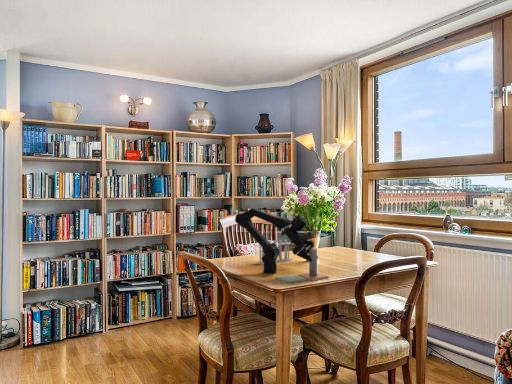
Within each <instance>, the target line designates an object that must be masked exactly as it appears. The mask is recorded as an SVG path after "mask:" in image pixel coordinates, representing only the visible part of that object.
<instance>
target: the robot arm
mask: <svg viewBox="0 0 512 384" xmlns="http://www.w3.org/2000/svg"><path fill="white" fill-rule="evenodd" d="M254 217H255V218H258V219H261V220H263V221H265V222H269V223H270V224H272V225H273V226H274V227H276V228H277V229H278V230H281V237H284V236H286V237H287V239H289V240H290V243H292V244H291V245H294V247H293V249H292V251H291V252H292V254H293V255H294V256H297V257H299V258H302V259H304V260H306V261H308V262H309V261H310V262H311V261H312V259H311V257H310V256H309V250H310V249H311V248H315V241H314V240H313V239H315V233H314V232H313V231H311V230H308V231H307V233H305V234H304V235H303V234H302V233H301V234H300V233H299V232H301V231H303V229H304V228H306V226H307V225H308V224H309V222H308V220H307V219H306V218H305V217H304V216H302V215H301V214H297V215H296V217H295V218H293V220H291V219H289V218H288V217H285V216H277V215H274V214H271V213H268V212H266V211H263V210H260V209H259V208H256V207H254V208H253V207H252V208H250V209H249V210H247V211H243V212H242V213H238V214H236V215H235V218H234V221H235V222H236V224H237V225H238V226H240V227H241V228H244V229H245V230H246V231H247V232H248V233H249V234H250V236H252V238H253V239H254V240H255V242H257V244H258V245H260V246H261V250H262V249H263V252H264V254H265V255H264V256H263V257H262V256H261V262H264V264H263V271H262V272H263V274H276V273H277V262H275V260H277V259H278V258H279V255H280V250H279V246H278V245H276V244H275V243H273V242H271V243H269V242H268V241H269V240H267V238H266V237H265V236H264V235H263V234H262V233H261V232H260V231H259V229H258V228H257V227H256V226H255V225H254V224H253V221H252V219H253V218H254ZM289 226H290V227H289ZM283 229H284V230H283ZM298 231H299V232H298ZM317 259H319V256H318V255H317Z"/></svg>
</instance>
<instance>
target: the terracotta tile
mask: <svg viewBox="0 0 512 384" xmlns="http://www.w3.org/2000/svg"><path fill="white" fill-rule="evenodd" d="M297 276H300V277H303V278H306V280H308V281H312V282H313V281H318V280H324V279H329V277H330V276H329V275H327V274H323V273H319V272H317V276H309V272H306V273H300V274H298V275H297Z"/></svg>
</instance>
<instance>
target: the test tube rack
mask: <svg viewBox="0 0 512 384" xmlns="http://www.w3.org/2000/svg"><path fill="white" fill-rule="evenodd" d="M267 241H268V242H269V243H275V244H276V246H278V247H279V248H278V249H279V250H280V255H279V256H278V258H277V260H275V263H281V262H282V263H283V262H290V261H293V258H290V245H293V244H292V243H291V242H288V239H284V242H283V241H282V239H279V240H278V242H277V240H273V242H271V241H270V240H267ZM283 246H284V249H283ZM256 247H259V261H257V262H256V264H258V265H264V262H262V259H261V258H262V257H263V256H264V255H265V254H264V252H263V249H262V247H261V246H260V245H259V244H258V245H256ZM283 250H284V258H283V253H282V252H283Z"/></svg>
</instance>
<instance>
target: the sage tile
mask: <svg viewBox="0 0 512 384" xmlns="http://www.w3.org/2000/svg"><path fill="white" fill-rule="evenodd" d="M275 280H279V281H280V282H281V281H282V282H283V283H287V284H292V283H298V282H305V281H307V279H306V278H303V277H300V276H298V275H296V274H285V275H279V276H275Z"/></svg>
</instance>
